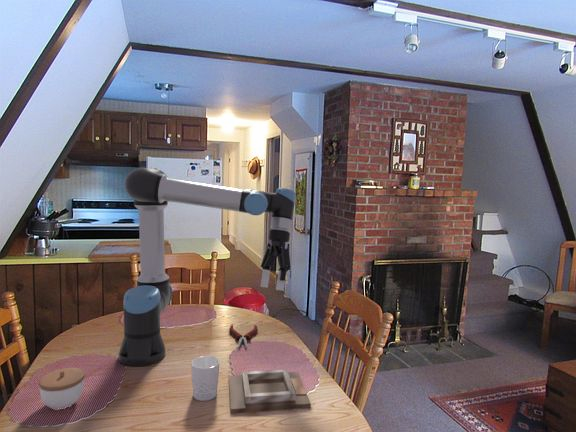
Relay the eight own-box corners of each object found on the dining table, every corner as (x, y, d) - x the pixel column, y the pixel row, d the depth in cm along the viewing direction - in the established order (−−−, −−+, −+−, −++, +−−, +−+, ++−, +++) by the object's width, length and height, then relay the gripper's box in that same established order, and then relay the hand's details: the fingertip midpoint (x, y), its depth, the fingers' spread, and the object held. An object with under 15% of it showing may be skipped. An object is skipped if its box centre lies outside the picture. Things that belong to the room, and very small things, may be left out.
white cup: (223, 390, 119) (224, 358, 118) (210, 405, 111) (210, 370, 110) (200, 385, 121) (200, 353, 120) (185, 399, 114) (185, 365, 113)
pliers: (226, 351, 146) (226, 344, 146) (229, 329, 166) (229, 323, 166) (258, 351, 147) (258, 344, 147) (257, 329, 167) (257, 323, 167)
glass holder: (230, 413, 108) (230, 402, 107) (228, 379, 125) (228, 369, 125) (310, 407, 112) (311, 396, 111) (297, 375, 129) (298, 365, 129)
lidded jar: (80, 412, 106) (79, 378, 105) (34, 418, 103) (33, 383, 102) (88, 391, 116) (87, 360, 115) (46, 395, 113) (45, 364, 112)
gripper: (305, 230, 138) (297, 293, 135) (275, 233, 160) (267, 287, 157) (286, 226, 135) (277, 290, 131) (257, 230, 157) (249, 284, 154)
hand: (271, 288), depth 144 cm, fingers open, 13 cm apart
